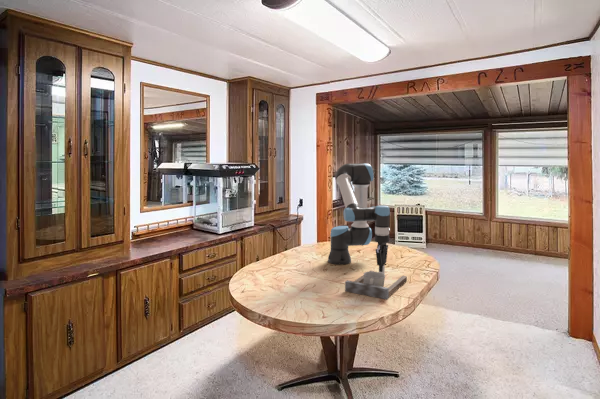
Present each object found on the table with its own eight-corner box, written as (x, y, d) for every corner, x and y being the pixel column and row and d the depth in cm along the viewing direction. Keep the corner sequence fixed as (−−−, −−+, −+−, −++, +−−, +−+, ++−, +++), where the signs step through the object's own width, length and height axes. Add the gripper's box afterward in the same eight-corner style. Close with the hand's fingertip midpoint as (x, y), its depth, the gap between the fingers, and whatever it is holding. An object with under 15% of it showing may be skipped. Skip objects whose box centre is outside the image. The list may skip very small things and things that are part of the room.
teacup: (368, 284, 198) (368, 269, 197) (387, 287, 192) (387, 272, 191) (357, 292, 186) (357, 276, 186) (378, 296, 181) (378, 280, 180)
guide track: (345, 291, 188) (345, 281, 187) (369, 274, 215) (369, 266, 214) (386, 299, 176) (386, 289, 175) (407, 280, 203) (407, 272, 202)
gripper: (384, 237, 191) (383, 281, 193) (393, 233, 201) (392, 274, 204) (370, 235, 195) (370, 278, 197) (380, 231, 206) (379, 272, 208)
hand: (381, 276), depth 201 cm, fingers closed
